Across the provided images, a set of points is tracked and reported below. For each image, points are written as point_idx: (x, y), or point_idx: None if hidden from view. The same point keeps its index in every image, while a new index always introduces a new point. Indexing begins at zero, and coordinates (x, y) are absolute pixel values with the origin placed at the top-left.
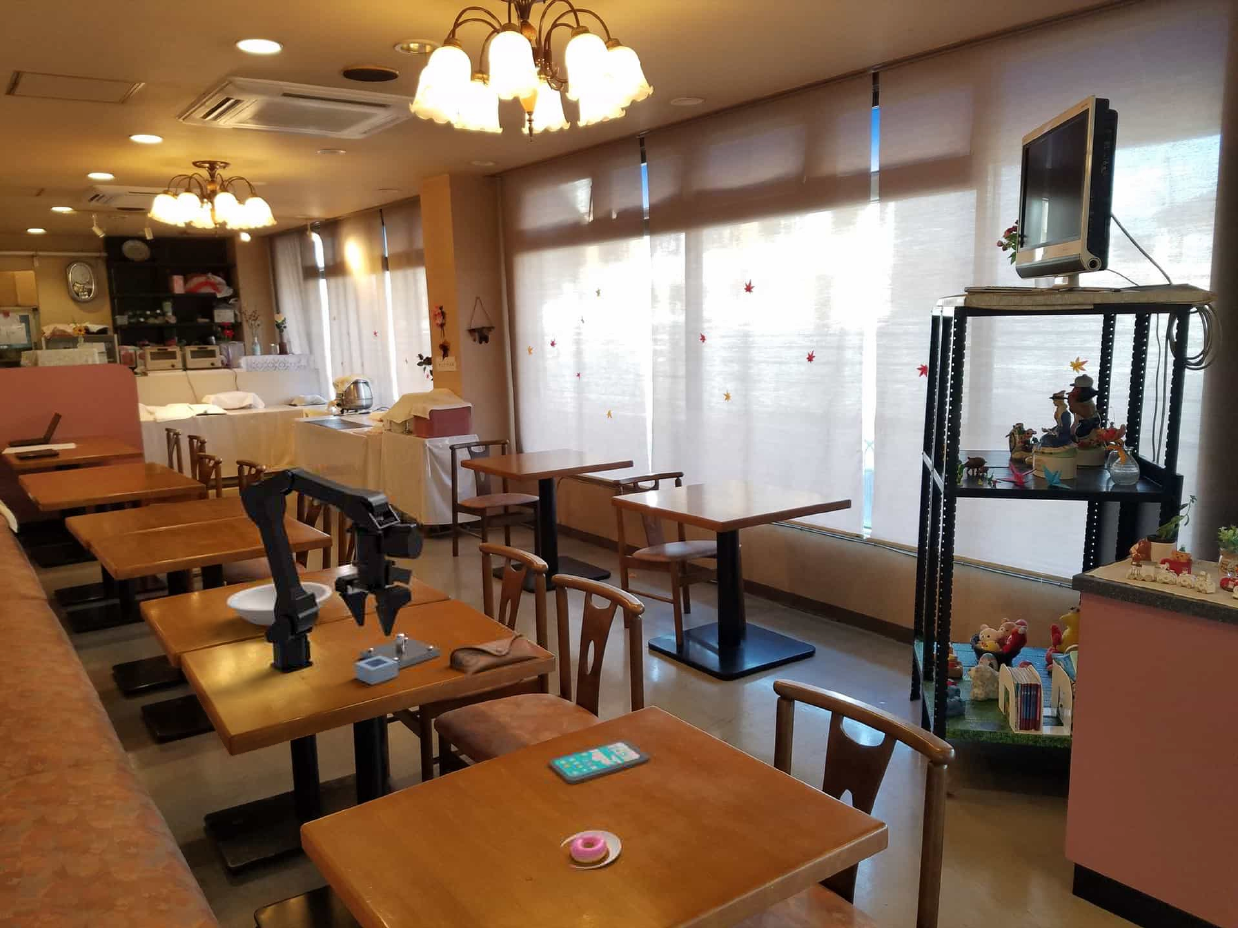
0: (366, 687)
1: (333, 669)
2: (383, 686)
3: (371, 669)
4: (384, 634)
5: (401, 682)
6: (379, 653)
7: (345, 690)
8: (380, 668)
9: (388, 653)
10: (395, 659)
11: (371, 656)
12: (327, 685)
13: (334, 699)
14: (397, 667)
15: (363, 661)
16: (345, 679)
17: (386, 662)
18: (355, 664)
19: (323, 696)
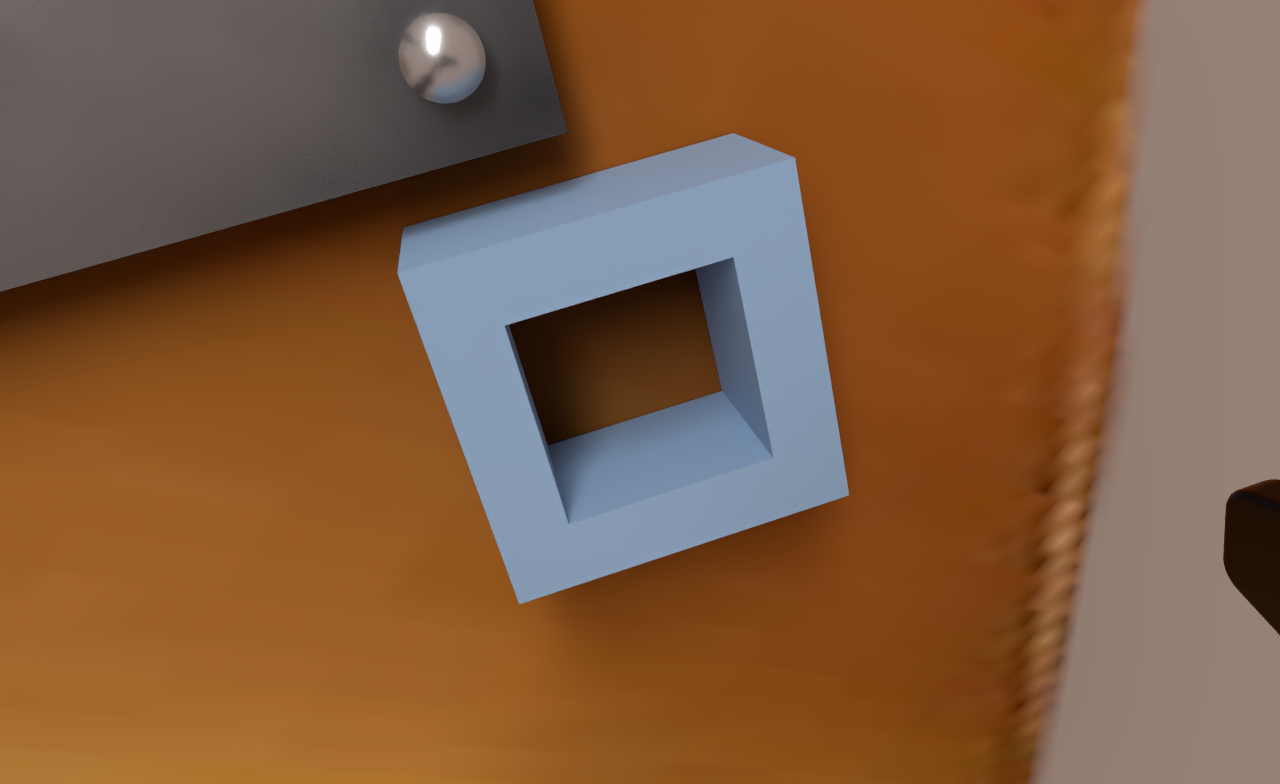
0: None
1: (136, 650)
2: (884, 349)
3: (818, 492)
4: (1265, 607)
5: (911, 165)
6: (2, 144)
7: (752, 636)
8: (827, 391)
9: (63, 21)
10: (483, 64)
11: (64, 272)
12: (552, 737)
13: (866, 723)
14: (769, 149)
15: (512, 511)
16: (497, 597)
17: (678, 269)
18: (532, 594)
19: (759, 779)
